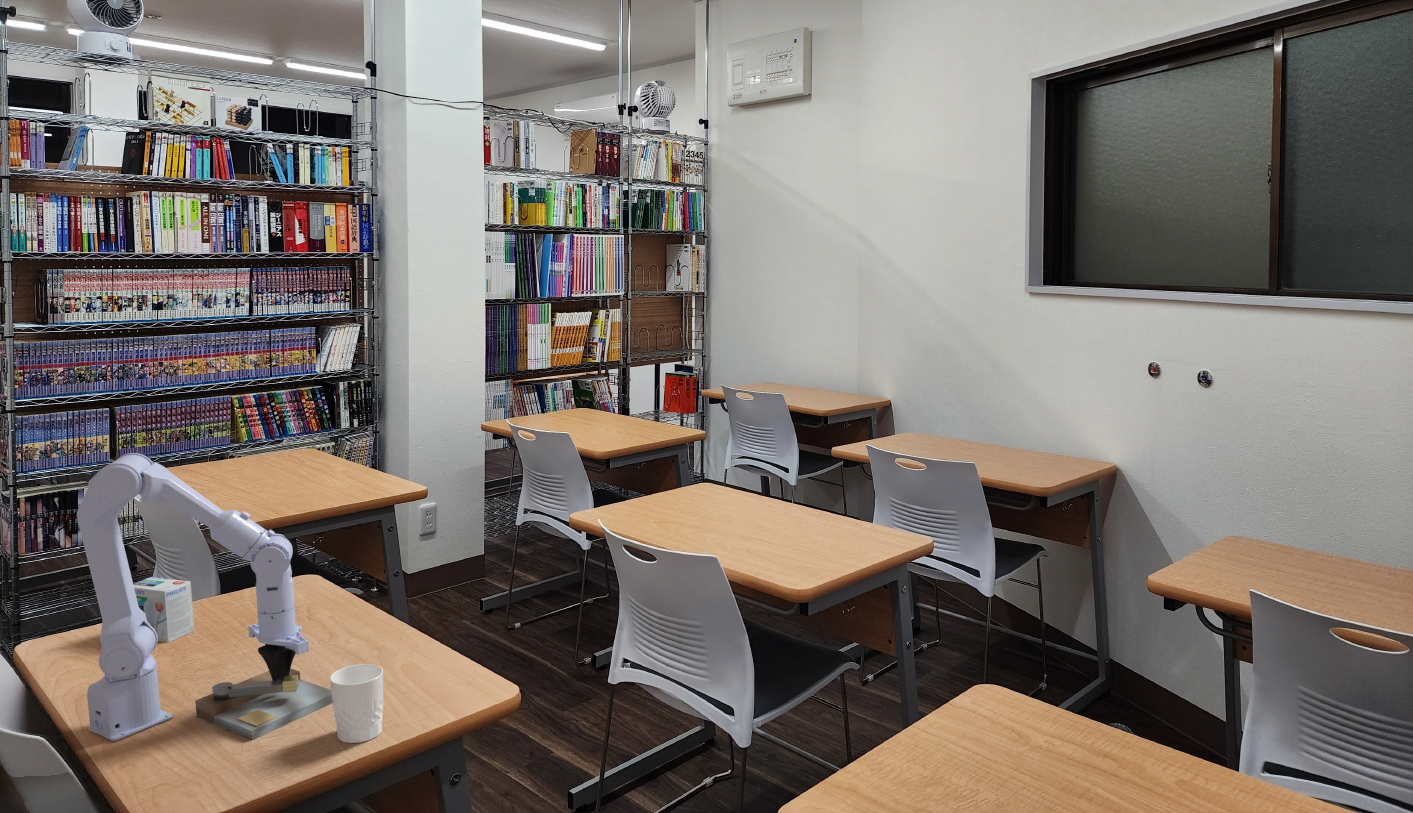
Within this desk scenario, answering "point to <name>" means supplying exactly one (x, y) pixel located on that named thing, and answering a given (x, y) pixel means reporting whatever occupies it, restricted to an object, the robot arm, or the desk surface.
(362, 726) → the white cup
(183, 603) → the light bulb box
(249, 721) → the door board
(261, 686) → the latch bar
